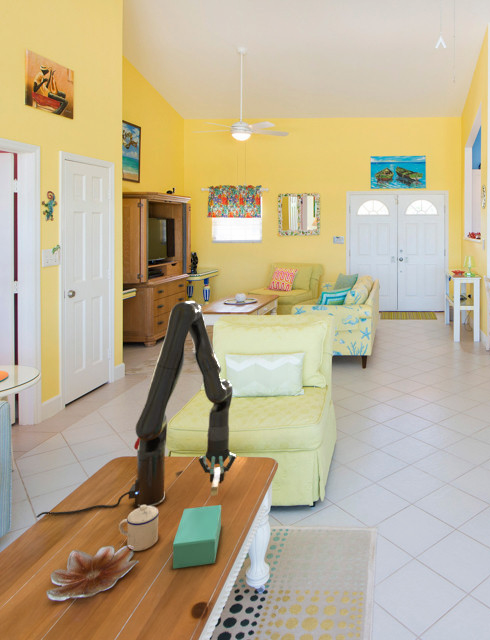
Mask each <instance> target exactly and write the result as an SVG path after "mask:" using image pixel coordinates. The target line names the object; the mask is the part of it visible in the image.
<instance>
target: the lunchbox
mask: <svg viewBox="0 0 490 640" xmlns="http://www.w3.org/2000/svg"><path fill="white" fill-rule="evenodd" d="M221 528H222V509H221V510H220V516H219V521H218V526H217V532H216V537H215V541H214V542H206V543H198V544H190V545H182V546H174V547H173V546H172V551H173V552H172V569H182V568H189V567H195V566H204V565H212V564H215V563H216V557H217V552H218V545H219V540H220V535H221Z"/></svg>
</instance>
